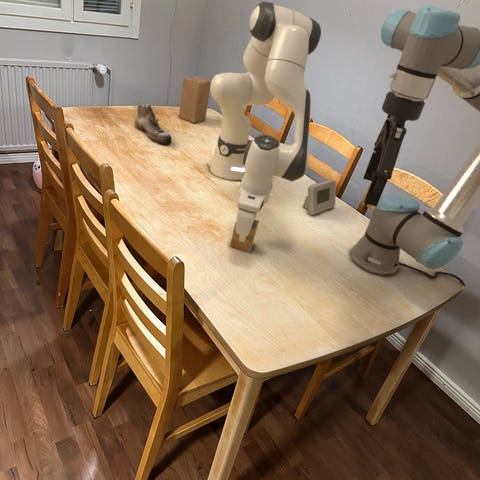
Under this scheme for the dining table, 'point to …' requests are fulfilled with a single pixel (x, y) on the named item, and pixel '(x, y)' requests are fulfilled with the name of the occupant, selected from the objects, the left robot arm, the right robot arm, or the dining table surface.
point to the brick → (248, 241)
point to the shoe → (151, 124)
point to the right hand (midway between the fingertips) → (369, 191)
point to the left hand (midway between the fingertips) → (245, 233)
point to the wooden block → (194, 99)
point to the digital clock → (320, 196)
